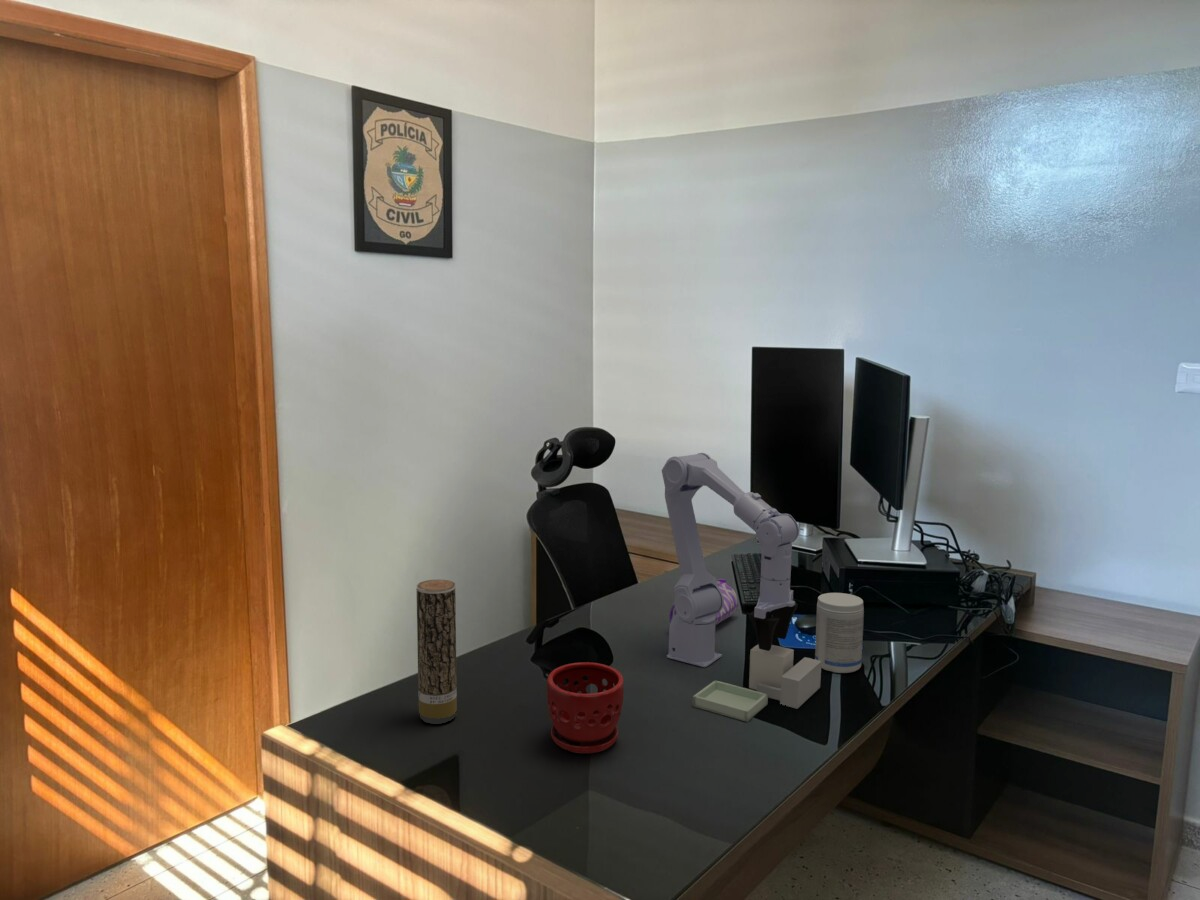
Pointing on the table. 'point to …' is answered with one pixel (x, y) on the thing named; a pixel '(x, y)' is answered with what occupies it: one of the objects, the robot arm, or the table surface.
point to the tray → (730, 700)
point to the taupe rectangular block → (769, 665)
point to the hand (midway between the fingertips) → (772, 643)
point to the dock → (796, 683)
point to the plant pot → (585, 707)
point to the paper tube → (436, 648)
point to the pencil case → (729, 602)
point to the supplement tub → (839, 632)
